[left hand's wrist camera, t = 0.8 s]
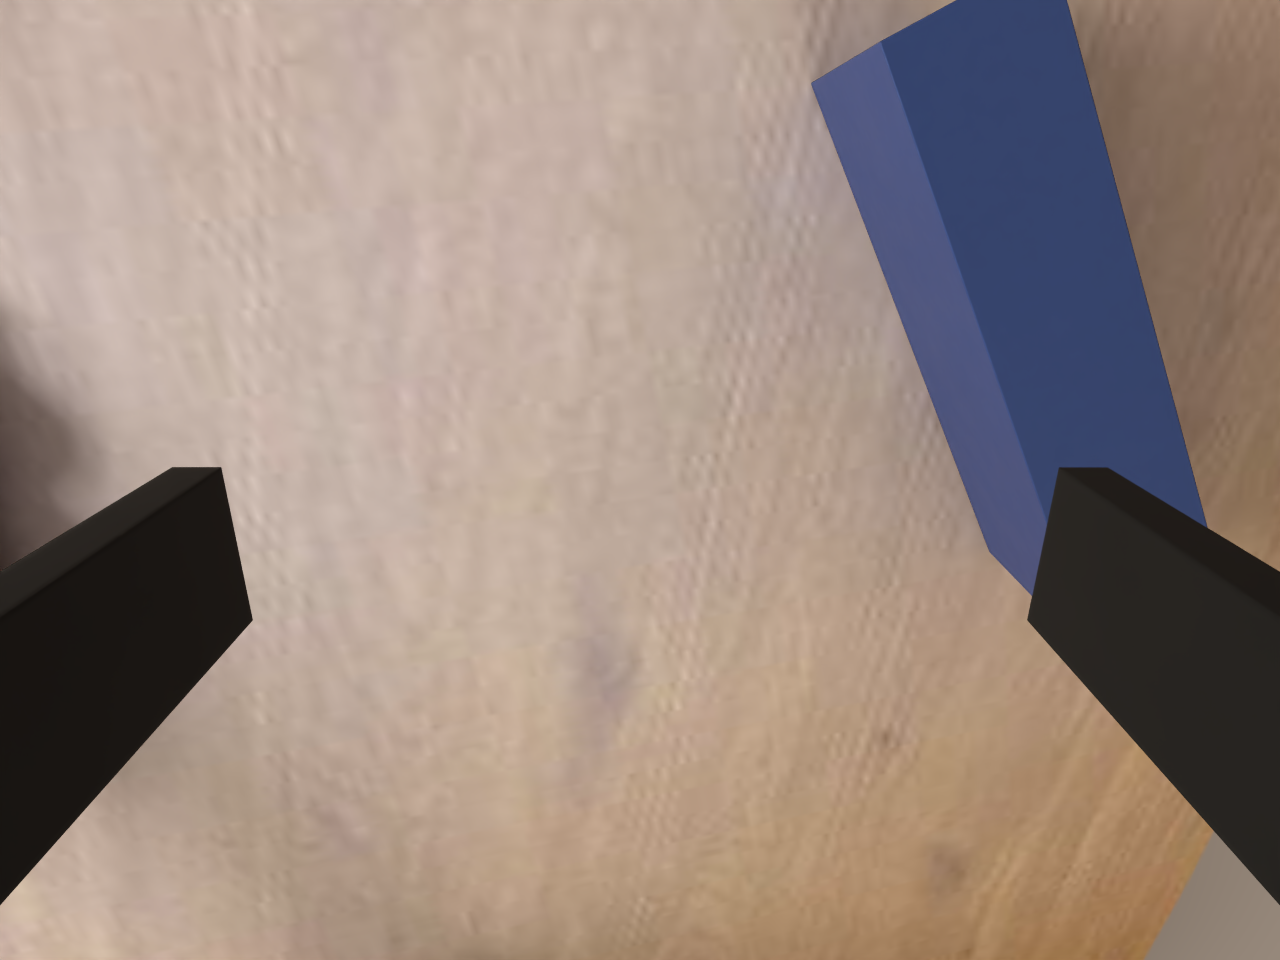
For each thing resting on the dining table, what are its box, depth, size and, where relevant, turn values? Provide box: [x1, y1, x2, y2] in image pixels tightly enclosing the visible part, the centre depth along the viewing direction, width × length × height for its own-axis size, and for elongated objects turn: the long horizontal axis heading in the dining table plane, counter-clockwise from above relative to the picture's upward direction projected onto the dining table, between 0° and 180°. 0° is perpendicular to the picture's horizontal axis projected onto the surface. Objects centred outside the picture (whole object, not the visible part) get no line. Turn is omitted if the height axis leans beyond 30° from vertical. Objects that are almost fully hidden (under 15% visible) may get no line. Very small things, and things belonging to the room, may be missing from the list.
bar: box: [811, 0, 1207, 595], centre depth 29 cm, size 23×5×9 cm, turn 27°
